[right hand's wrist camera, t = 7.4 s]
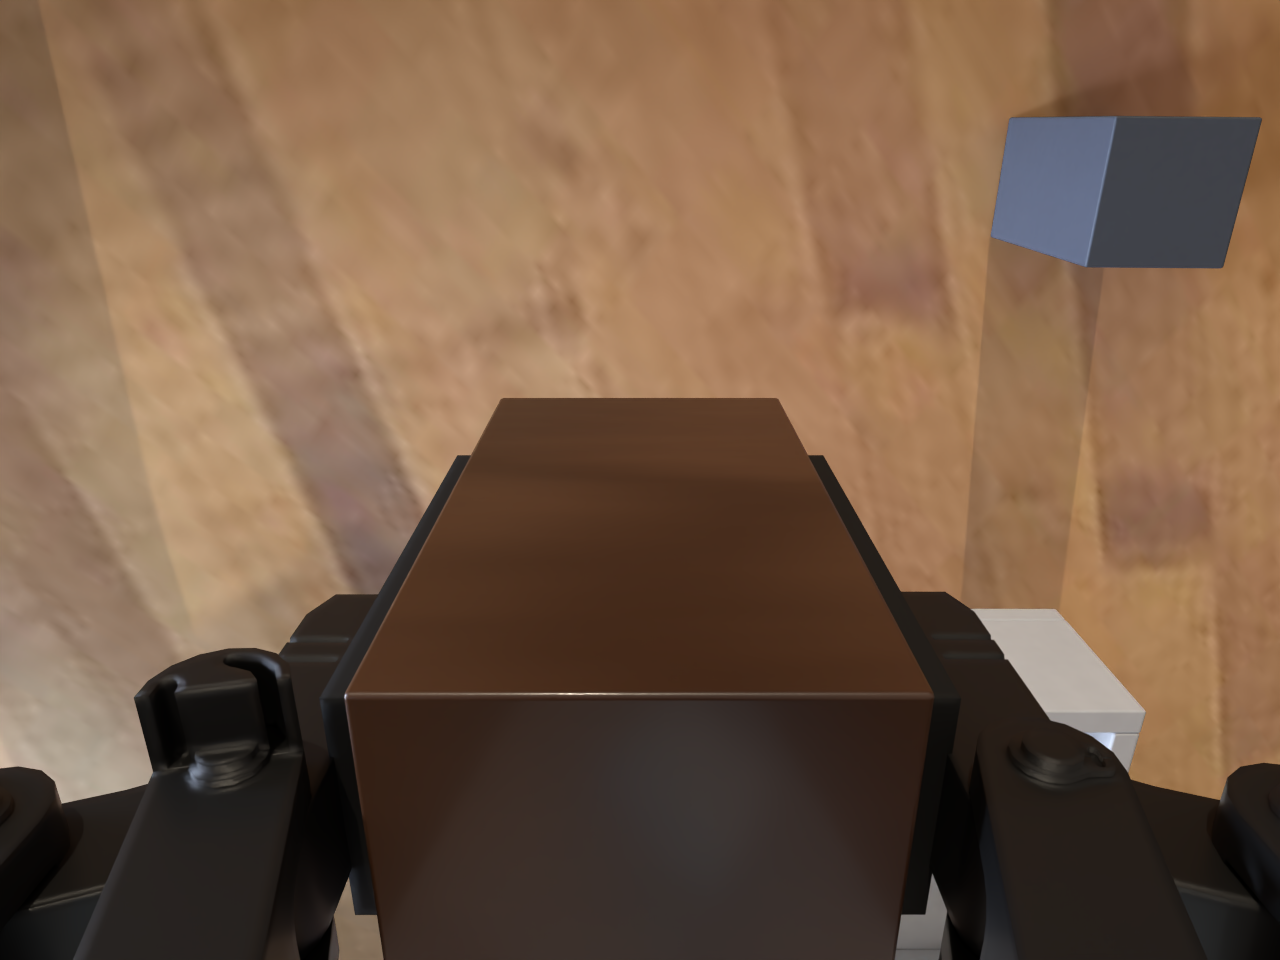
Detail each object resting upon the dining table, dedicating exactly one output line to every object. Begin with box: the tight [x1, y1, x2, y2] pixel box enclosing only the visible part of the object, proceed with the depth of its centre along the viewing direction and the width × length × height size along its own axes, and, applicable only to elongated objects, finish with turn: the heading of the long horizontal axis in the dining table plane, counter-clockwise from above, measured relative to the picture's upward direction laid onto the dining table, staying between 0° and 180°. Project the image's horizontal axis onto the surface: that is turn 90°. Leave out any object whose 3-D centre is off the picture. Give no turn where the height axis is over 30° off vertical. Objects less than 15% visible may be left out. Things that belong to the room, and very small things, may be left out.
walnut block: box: [344, 398, 934, 960], centre depth 11 cm, size 4×4×8 cm
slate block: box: [991, 116, 1262, 268], centre depth 31 cm, size 4×4×8 cm
